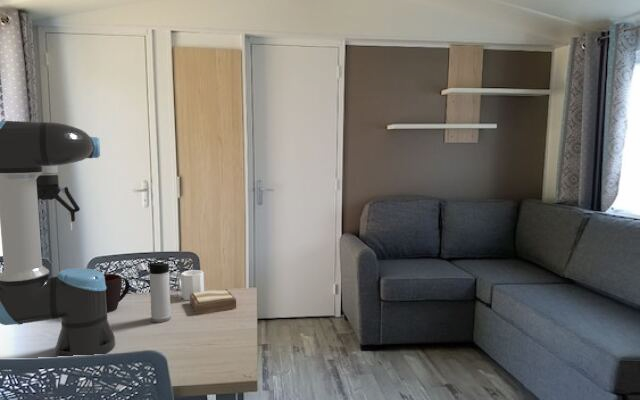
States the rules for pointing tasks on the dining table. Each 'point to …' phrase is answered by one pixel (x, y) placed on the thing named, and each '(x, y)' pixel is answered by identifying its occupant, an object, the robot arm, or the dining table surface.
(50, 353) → the dining table surface
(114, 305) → the mug
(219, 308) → the pedestal
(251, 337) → the dining table surface
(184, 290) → the mug
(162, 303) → the travel mug
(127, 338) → the dining table surface
